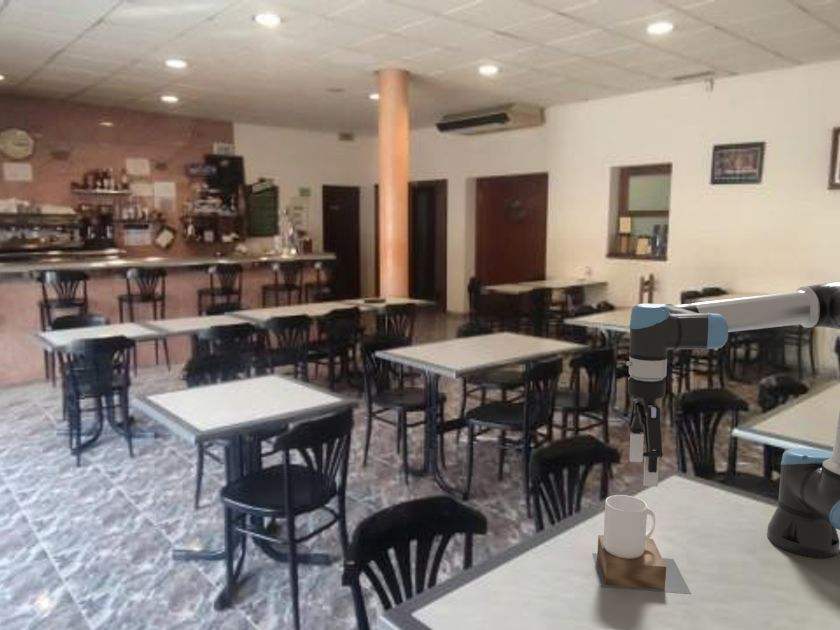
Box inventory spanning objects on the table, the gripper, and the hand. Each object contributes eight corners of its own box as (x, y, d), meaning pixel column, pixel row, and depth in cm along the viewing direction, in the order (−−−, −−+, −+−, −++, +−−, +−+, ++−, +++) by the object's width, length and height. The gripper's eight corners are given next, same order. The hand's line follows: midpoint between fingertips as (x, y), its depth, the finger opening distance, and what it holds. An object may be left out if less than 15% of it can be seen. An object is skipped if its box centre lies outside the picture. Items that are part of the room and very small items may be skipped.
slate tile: (673, 563, 146) (673, 558, 145) (690, 599, 132) (691, 593, 132) (591, 558, 148) (592, 553, 148) (601, 592, 134) (601, 586, 134)
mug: (666, 554, 137) (669, 507, 136) (617, 562, 134) (620, 514, 133) (641, 536, 146) (644, 491, 144) (595, 543, 142) (597, 497, 141)
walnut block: (651, 559, 145) (652, 538, 144) (664, 589, 133) (666, 566, 133) (597, 555, 147) (598, 535, 146) (605, 584, 135) (606, 562, 134)
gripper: (617, 364, 148) (614, 452, 151) (642, 391, 123) (637, 496, 126) (651, 364, 147) (647, 453, 150) (682, 392, 123) (677, 498, 126)
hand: (642, 473), depth 138 cm, fingers open, 13 cm apart
